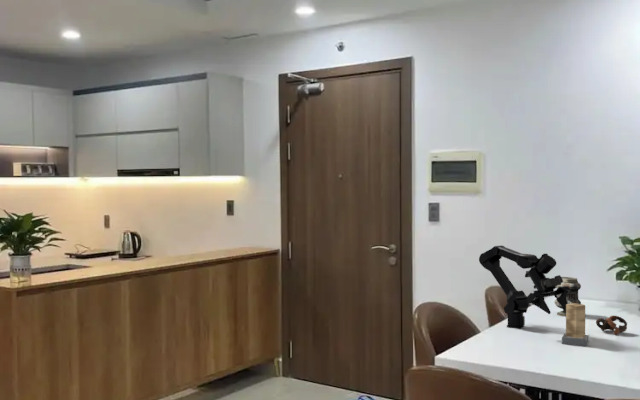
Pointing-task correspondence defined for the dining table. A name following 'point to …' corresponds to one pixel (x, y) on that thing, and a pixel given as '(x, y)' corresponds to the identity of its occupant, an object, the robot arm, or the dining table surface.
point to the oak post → (575, 320)
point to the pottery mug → (612, 324)
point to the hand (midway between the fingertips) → (558, 311)
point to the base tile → (575, 340)
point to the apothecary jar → (572, 295)
